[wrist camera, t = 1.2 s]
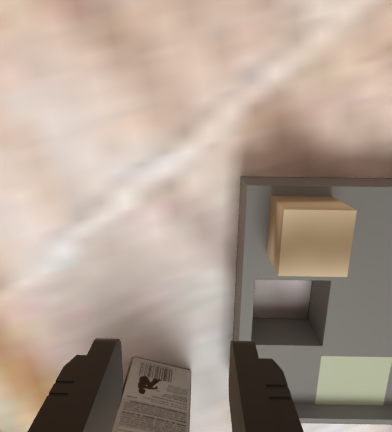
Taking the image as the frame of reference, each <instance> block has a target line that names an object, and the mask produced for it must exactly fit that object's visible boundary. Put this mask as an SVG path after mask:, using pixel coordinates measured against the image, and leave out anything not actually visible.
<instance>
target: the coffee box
mask: <svg viewBox="0 0 392 432" xmlns="http://www.w3.org/2000/svg"><path fill="white" fill-rule="evenodd" d="M190 402H191V371H190V370H187V369H183V368H178V367H174V366H170V365H166V364H162V363H158V362H154V361H150V360H146V359H141V358H137V357H133V358H132V359H131V362H130V366H129V369H128V372H127V376H126V379H125V382H124V386H123V389H122V396H121V401H120V405H119V408H118V412H117V415H116V419H115V423H114V426H113V430H112V432H189V429H190Z"/></svg>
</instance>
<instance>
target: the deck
mask: <svg viewBox="0 0 392 432" xmlns="http://www.w3.org/2000/svg"><path fill="white" fill-rule="evenodd" d="M271 196H331V197H334V198H336V199H337V200H339V201H341V202H343V203H345V204H346V205H348V206H350V207H352V208H353V209H355V210H357V213H356V220H355V227H354V234H353V241H352V248H351V254H350V261H349V268H348V275H347V277H312V276H278V274H277V272H276V271H275V269H274V267H273V265H272V263H271V261H270V259H269V257H268V255H267V239H268V226H269V212H270V198H271ZM255 279H256V280H312V287H311V295H310V304H309V313H308V319H285V318H253V303H254V288H255ZM233 341H254V342H255V345H256V348H257V352H258V356H259V358H270V359H273V360H274V361H275V362H276V363H277V365H278V366H279V367H280V368H281V369H282V370H283V372H284V375H285V378H286V381H287V384H288V388H289V390H290V393H291V396H292V400H293V402H294V405H295V408H296V411H297V414H298V417H299V420H300V423H328V424H388V425H392V179H391V178H311V177H241V182H240V203H239V224H238V245H237V267H236V288H235V309H234V330H233Z"/></svg>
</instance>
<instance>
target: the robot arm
mask: <svg viewBox="0 0 392 432" xmlns="http://www.w3.org/2000/svg"><path fill="white" fill-rule="evenodd" d="M122 389H123V371H122V353H121V341H120V339H100V338H96V339H95V340H94V342H93V344H92V346H91V348H90V350H89V352H88V354H87V355H76V356H75V357H74V358H73V359H72V360H71V361H70V362H69V363H67V364H66V365H65V366H64V367H63V369H62V371H61V372H60V374H59V376H58V378H57V380H56V383H55V384H54V385H53V387H52V389H51V390H50V392H49V396H47V398H46V400H45V401H44V403H43V405H42V407H41V409H40V410H39V412H38V414H37V416H36V418H35V419H34V421H33V423H32V425H31V427H30V428H29V430H28V432H112V430H113V426H114V423H115V419H116V415H117V412H118V408H119V405H120V401H121V396H122ZM229 403H230V412H231V421H232V431H233V432H303V429H302V426H301V423H300V420H299V417H298V414H297V411H296V408H295V405H294V402H293V400H292V396H291V393H290V390H289V388H288V384H287V381H286V378H285V375H284V372H283V370H282V369H281V368H280V367H279V366H278V365H277V363H276V362H275V361H274V360H273V359H270V358H259V356H258V352H257V348H256V345H255V342H254V341H231V345H230V366H229Z"/></svg>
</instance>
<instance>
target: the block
mask: <svg viewBox="0 0 392 432" xmlns="http://www.w3.org/2000/svg"><path fill="white" fill-rule="evenodd" d="M356 213H357V210H355V209H353V208H352V207H350V206H348V205H346V204H345V203H343V202H341V201H339V200H337V199H336V198H334V197H331V196H271V198H270V212H269V226H268V239H267V255H268V257H269V259H270V261H271V263H272V265H273V267H274V269H275V271H276V272H277V274H278V276H312V277H347V275H348V268H349V261H350V254H351V248H352V241H353V234H354V227H355V220H356Z"/></svg>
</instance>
